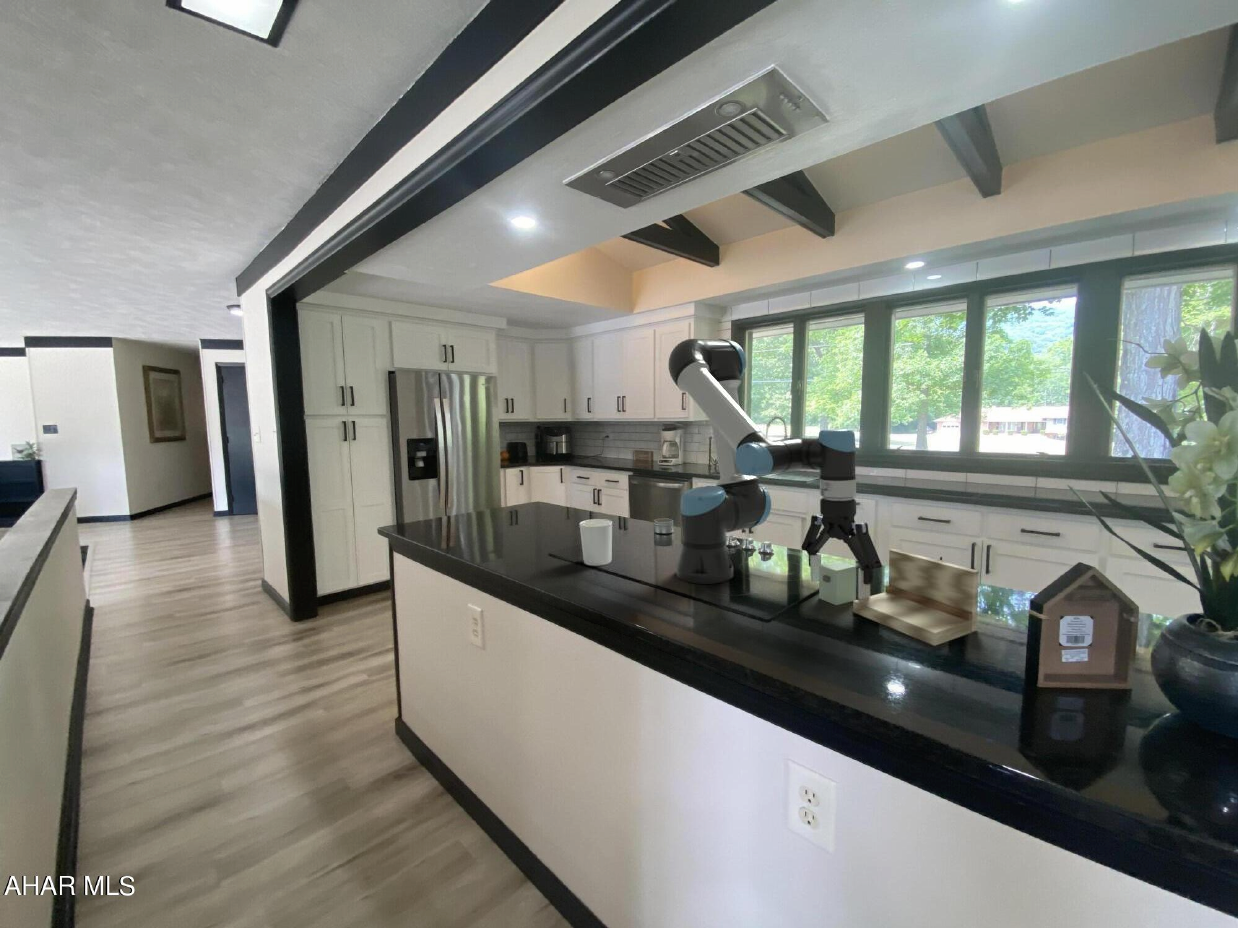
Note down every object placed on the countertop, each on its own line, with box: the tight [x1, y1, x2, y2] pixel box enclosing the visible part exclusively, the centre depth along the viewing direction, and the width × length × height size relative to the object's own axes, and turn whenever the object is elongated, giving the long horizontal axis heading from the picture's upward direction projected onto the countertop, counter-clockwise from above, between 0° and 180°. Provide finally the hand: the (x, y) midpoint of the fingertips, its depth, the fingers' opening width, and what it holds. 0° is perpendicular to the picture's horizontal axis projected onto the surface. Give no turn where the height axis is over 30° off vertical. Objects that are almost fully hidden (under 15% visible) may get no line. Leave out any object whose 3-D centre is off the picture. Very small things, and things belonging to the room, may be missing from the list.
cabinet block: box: [818, 560, 857, 606], centre depth 118 cm, size 5×7×8 cm
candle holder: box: [578, 518, 613, 567], centre depth 155 cm, size 10×10×12 cm
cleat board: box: [852, 548, 980, 647], centre depth 105 cm, size 18×12×12 cm
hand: (839, 589), depth 118 cm, fingers open, 13 cm apart
